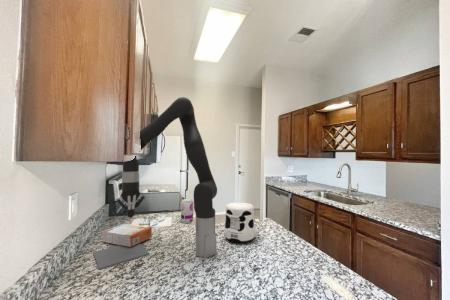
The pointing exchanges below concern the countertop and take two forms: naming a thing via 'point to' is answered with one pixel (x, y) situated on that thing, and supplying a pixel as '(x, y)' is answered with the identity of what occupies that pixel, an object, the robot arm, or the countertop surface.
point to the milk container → (239, 222)
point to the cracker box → (127, 235)
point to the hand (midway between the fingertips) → (130, 217)
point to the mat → (118, 255)
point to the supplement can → (187, 211)
